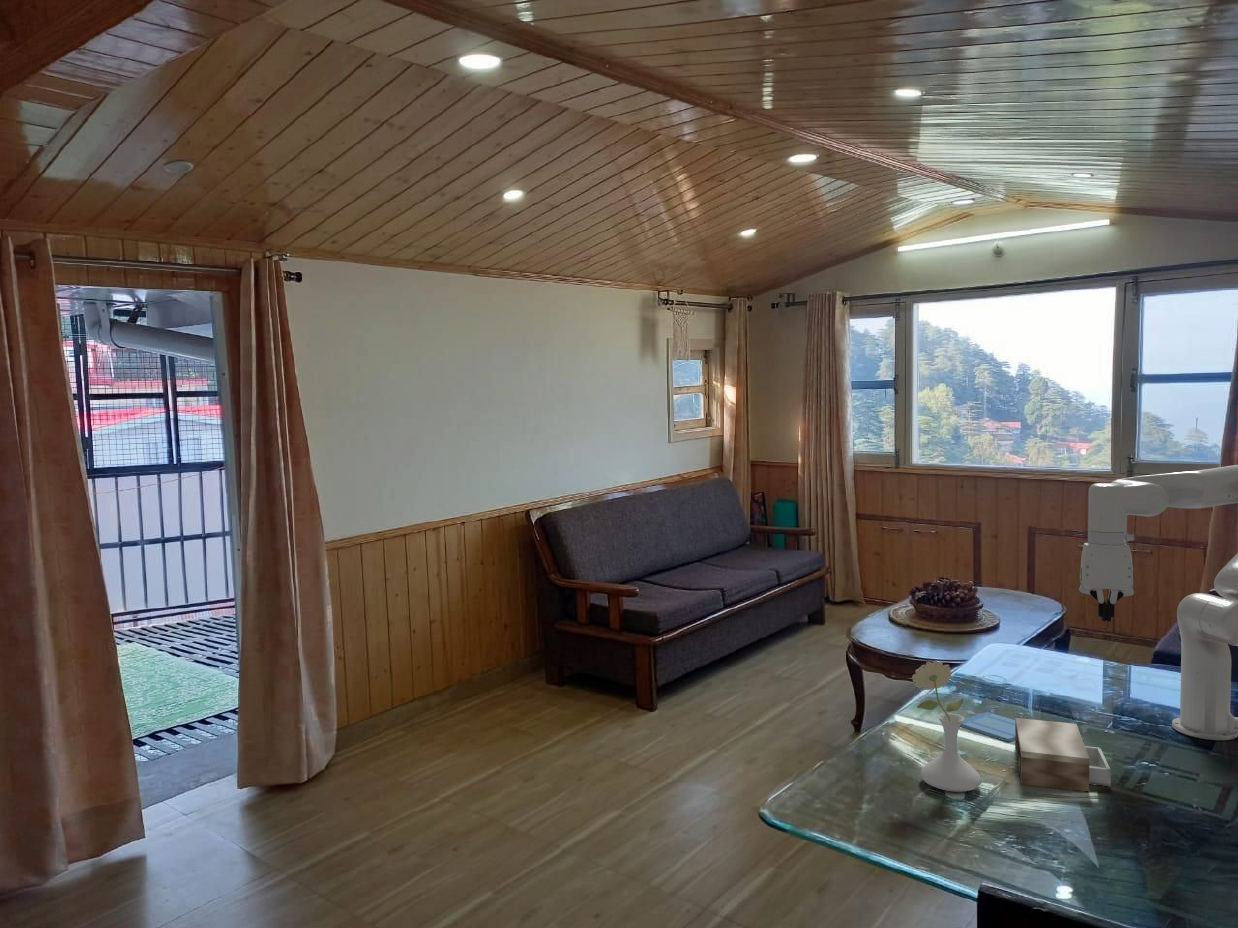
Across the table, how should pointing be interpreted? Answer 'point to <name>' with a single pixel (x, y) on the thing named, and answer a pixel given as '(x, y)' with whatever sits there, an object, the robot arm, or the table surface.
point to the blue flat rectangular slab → (991, 725)
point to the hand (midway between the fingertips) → (1105, 619)
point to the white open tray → (1098, 767)
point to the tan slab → (1051, 754)
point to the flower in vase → (949, 765)
